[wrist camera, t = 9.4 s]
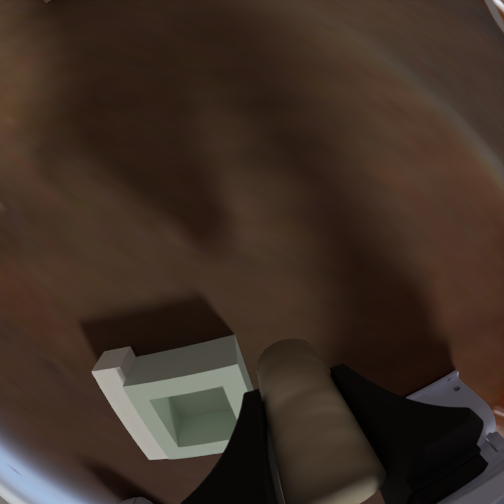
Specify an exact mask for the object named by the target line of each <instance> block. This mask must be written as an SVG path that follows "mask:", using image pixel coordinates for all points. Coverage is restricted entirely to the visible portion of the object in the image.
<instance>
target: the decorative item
mask: <svg viewBox="0 0 504 504" xmlns="http://www.w3.org/2000/svg"><path fill="white" fill-rule="evenodd" d="M118 504H153V503H152V502H151V501H149V500H147V499H145V498H144V497H135V498H131V499H128V500H124V501H121V502H119V503H118Z"/></svg>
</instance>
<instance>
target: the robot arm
mask: <svg viewBox="0 0 504 504" xmlns="http://www.w3.org/2000/svg"><path fill="white" fill-rule="evenodd" d="M330 371H331V377H332V379H333V381H334V382H335V384H336V386H337V387H338V389H339V391H340V393H341V394H342V396H343V398H344V400H345V401H346V403H347V405H348V406H349V408H350V410H351V412H352V413H353V415H354V417H355V419H356V420H357V422H358V424H359V426H360V427H361V429H362V431H363V433H364V434H365V436H366V438H367V440H368V441H369V443H370V445H371V447H372V448H373V450H374V452H375V454H376V455H377V457H378V459H379V461H380V462H381V464H382V466H383V468H384V469H385V471H386V478H385V481H384V483H383V484H382V486H381V487H380V488H379V489H380V491H381V494H382V497H383V499H384V502H385V504H504V438H503V437H502V436H501V435H500V434H499V433H498V432H495V418H494V415H493V413H492V411H491V409H490V407H489V406H488V405H487V403H486V402H485V401H483V400H482V399H481V398H480V397H479V396H478V395H477V394H476V393H475V392H473V391H472V390H471V389H470V388H469V387H468V386H467V385H466V384H464V383H463V382H462V381H461V380H460V379H459V378H458V374H459V373H458V371H456V370H455V371H453V372H452V373H450V374H448V375H446V376H445V377H443V378H441V379H440V380H438V381H436V382H434V383H432V384H431V385H429V386H427V387H425V388H423V389H421V390H419V391H417V392H415V393H413V394H411V395H409V396H407V397H402V396H399V395H397V394H394V393H392V392H390V391H388V390H386V389H383V388H382V387H380V386H378V385H376V384H374V383H372V382H371V381H369V380H367V379H366V378H364V377H362V376H361V375H359V374H358V373H356V372H355V371H353V370H352V369H350V368H349V367H348V366H346V365H344V364H341V365H338V366H335V367H332V368H330ZM489 441H490V442H491V443H490V442H489ZM181 504H284V502H283V498H282V494H281V490H280V486H279V481H278V475H277V466H276V460H275V456H274V451H273V446H272V442H271V437H270V433H269V428H268V423H267V419H266V414H265V409H264V405H263V401H262V398H261V395H260V392H259V389H257V390H253V391H249V392H245V393H244V394H243V399H242V405H241V409H240V412H239V416H238V419H237V422H236V425H235V428H234V430H233V433H232V435H231V438H230V440H229V442H228V444H227V446H226V448H225V450H224V452H223V454H222V455H221V457H220V459H219V460H218V462H217V463H216V465H215V466H214V468H213V469H212V471H211V472H210V473H209V475H208V476H207V477H206V478H205V479H204V481H203V482H202V483H201V484H200V485H199V486H198V487H197V488H196V490H195V491H193V492H192V493H191V494H190V495H189V496H188V497H187V498H186V499H185V500H184V501H183V502H181Z"/></svg>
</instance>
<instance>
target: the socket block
mask: <svg viewBox="0 0 504 504" xmlns="http://www.w3.org/2000/svg"><path fill="white" fill-rule="evenodd" d="M122 387H123V389H124V391H125V392H126V394H127V396H128V398H129V399H130V401H131V403H132V404H133V406H134V408H135V409H136V411H137V412H138V414H139V416H140V417H141V419H142V420H143V422H144V424H145V425H146V427H147V428H148V430H149V431H150V433H151V434H152V436H153V437H154V439H155V440H156V442H157V443H158V444H159V446H160V447H161V449H162V450H163V451H164V453H165V454H166V456H167V457H168V458H169V459H179V458H187V457H195V456H203V455H210V454H216V453H222V452H224V450H225V448H226V446H227V444H228V442H229V440H230V438H231V435H232V433H233V430H234V428H235V425H236V422H237V419H238V416H239V412H240V409H241V405H242V399H243V394H244V393H245V392H249V391H253V387H252V384H251V381H250V378H249V375H248V372H247V370H246V367H245V364H244V361H243V358H242V355H241V352H240V349H239V346H238V343H237V340H236V337H235V334H234V335H231V336H227V337H223V338H219V339H215V340H211V341H207V342H203V343H198V344H194V345H190V346H185V347H181V348H177V349H172V350H167V351H163V352H158V353H153V354H148V355H143V356H138V357H136V358H135V360H134V362H133V364H132V366H131V368H130V371H129V373H128V375H127V377H126V380H125V382H124V384H123V386H122Z"/></svg>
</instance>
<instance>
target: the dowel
mask: <svg viewBox="0 0 504 504" xmlns="http://www.w3.org/2000/svg"><path fill="white" fill-rule="evenodd" d="M256 371H257V376H258V381H259V386H260V390H261V395H262V400H263V405H264V409H265V414H266V419H267V423H268V428H269V433H270V437H271V442H272V446H273V451H274V456H275V460H276V465H277V469H278V473H279V478H280V482H281V487H282V491H283V495H284V500H285V504H360V503H361V502H363V501H365V500H366V499H368V498H369V497H370V496H372V495H373V494H374V493H375V492H376V491H377V490H378V489H379V488H380V487H381V486H382V484H383V483H384V481H385V478H386V471H385V469H384V468H383V466H382V464H381V462H380V461H379V459H378V457H377V455H376V454H375V452H374V450H373V448H372V447H371V445H370V443H369V441H368V440H367V438H366V436H365V434H364V433H363V431H362V429H361V427H360V426H359V424H358V422H357V420H356V419H355V417H354V415H353V413H352V412H351V410H350V408H349V406H348V405H347V403H346V401H345V400H344V398H343V396H342V394H341V393H340V391H339V389H338V387H337V386H336V384H335V382H334V381H333V379H332V377H331V375H330V374H329V372H328V370H327V368H326V367H325V365H324V363H323V362H322V360H321V358H320V356H319V355H318V353H317V351H316V350H315V348H314V347H313V346H312V345H311V344H310V343H308V342H306V341H304V340H300V339H285V340H281V341H278V342H276V343H274V344H272V345H270V346H269V347H268V348H267V349H266V350H264V352H263V353H262V354H261V356H260V357H259V359H258V362H257V367H256Z"/></svg>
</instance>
